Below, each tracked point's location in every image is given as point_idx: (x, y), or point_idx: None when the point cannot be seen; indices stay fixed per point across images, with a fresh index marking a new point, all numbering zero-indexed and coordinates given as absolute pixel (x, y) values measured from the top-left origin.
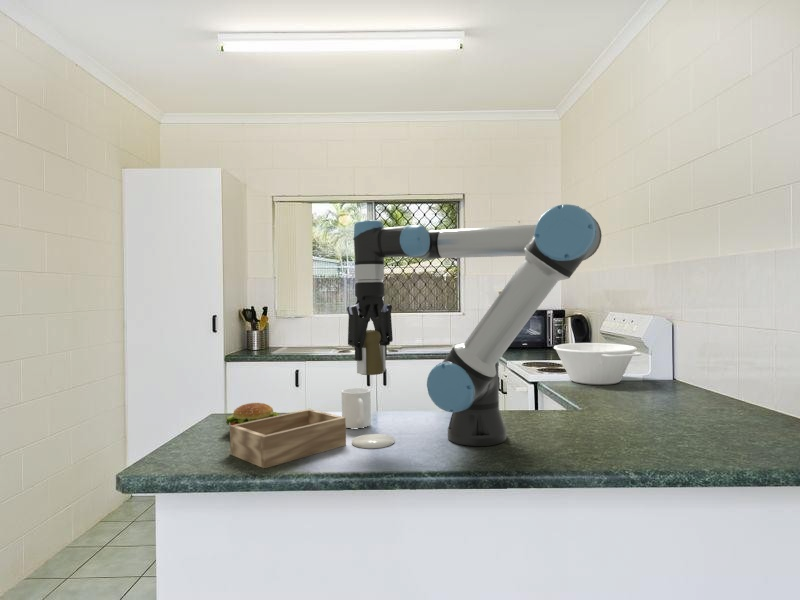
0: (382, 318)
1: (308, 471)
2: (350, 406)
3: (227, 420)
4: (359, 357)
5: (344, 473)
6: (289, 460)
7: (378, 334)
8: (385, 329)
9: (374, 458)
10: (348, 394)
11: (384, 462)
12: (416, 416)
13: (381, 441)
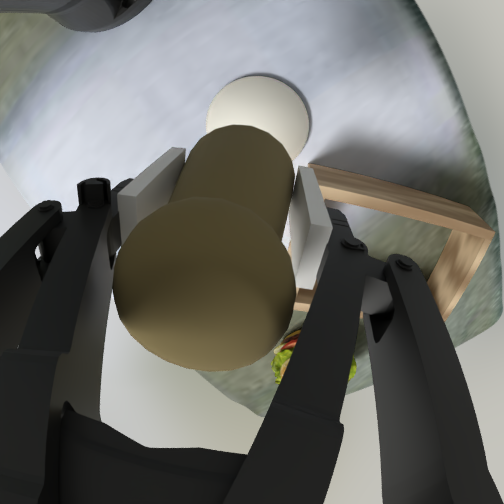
0: (10, 354)
1: (460, 133)
2: None
3: (353, 375)
4: (340, 218)
5: (445, 68)
6: (433, 195)
7: (179, 225)
8: (25, 288)
9: (353, 56)
10: None
11: (363, 26)
12: (54, 184)
13: (257, 100)
